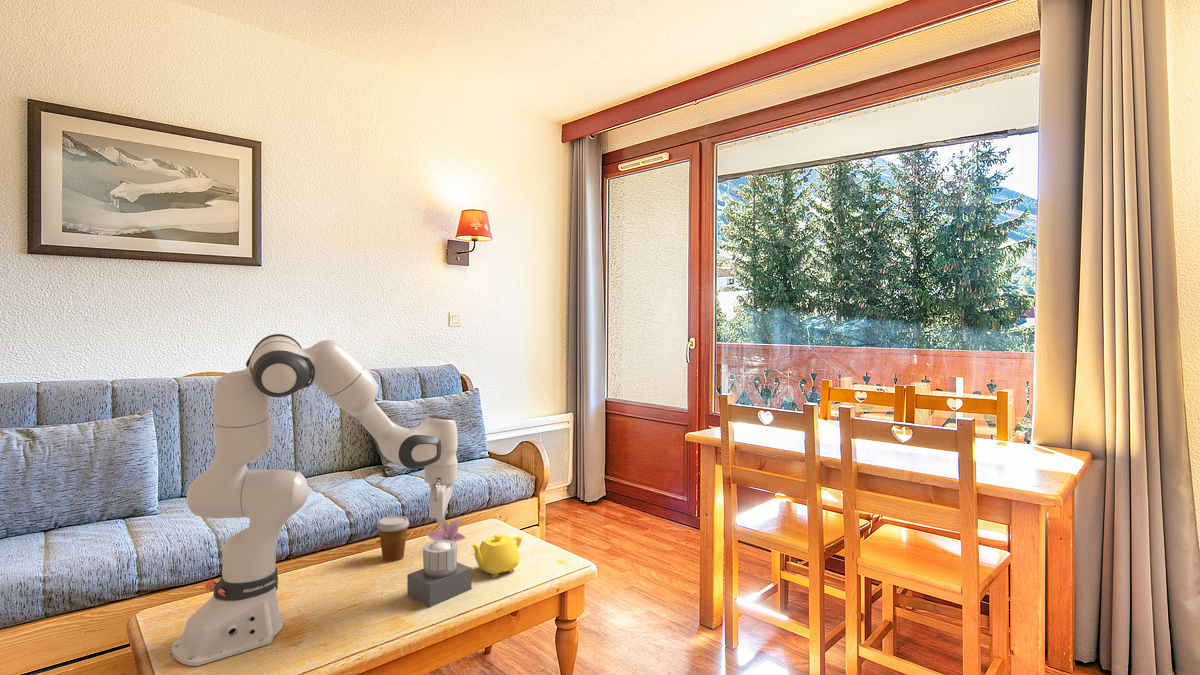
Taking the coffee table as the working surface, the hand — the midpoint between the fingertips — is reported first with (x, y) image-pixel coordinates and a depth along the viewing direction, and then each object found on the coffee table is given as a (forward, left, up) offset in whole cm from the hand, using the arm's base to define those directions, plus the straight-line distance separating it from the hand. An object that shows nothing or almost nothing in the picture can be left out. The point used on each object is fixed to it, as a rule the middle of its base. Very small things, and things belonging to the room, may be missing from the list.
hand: (440, 523), depth 168 cm
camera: (0, 0, -19) cm, 19 cm away
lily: (+21, +23, -20) cm, 37 cm away
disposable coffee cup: (+6, +31, -20) cm, 37 cm away
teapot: (+20, -1, -20) cm, 28 cm away
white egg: (0, 0, -11) cm, 11 cm away
